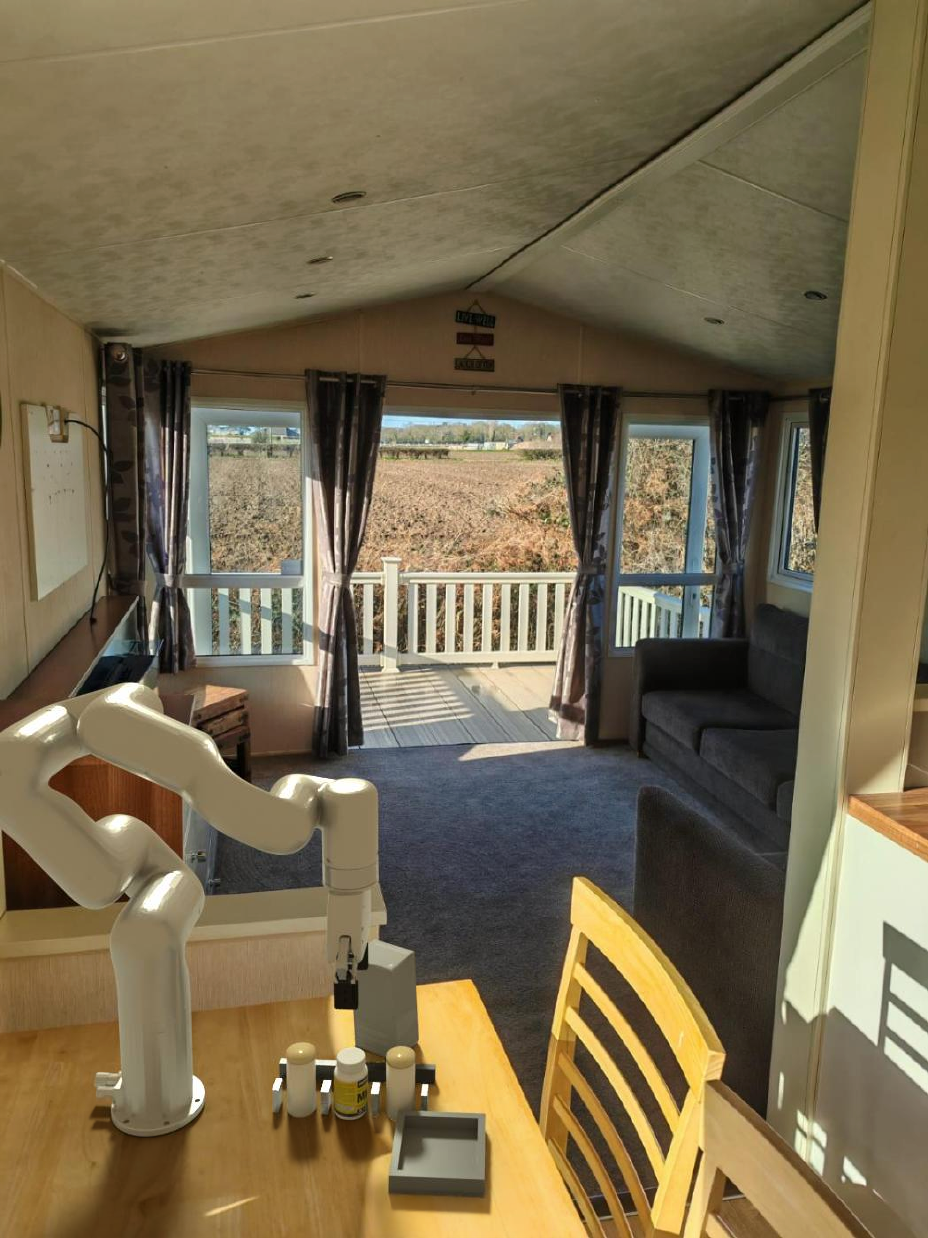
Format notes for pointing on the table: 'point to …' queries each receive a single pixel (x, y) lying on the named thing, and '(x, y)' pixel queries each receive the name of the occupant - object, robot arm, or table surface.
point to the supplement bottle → (350, 1084)
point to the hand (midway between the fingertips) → (351, 988)
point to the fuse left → (301, 1079)
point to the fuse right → (400, 1081)
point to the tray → (438, 1154)
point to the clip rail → (375, 1074)
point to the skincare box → (386, 1000)
